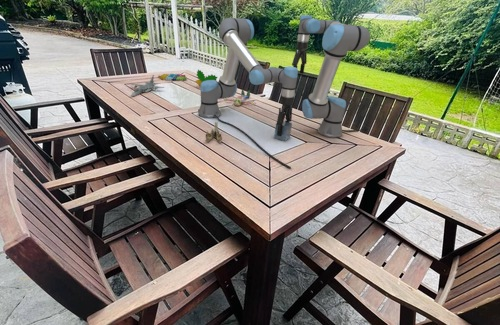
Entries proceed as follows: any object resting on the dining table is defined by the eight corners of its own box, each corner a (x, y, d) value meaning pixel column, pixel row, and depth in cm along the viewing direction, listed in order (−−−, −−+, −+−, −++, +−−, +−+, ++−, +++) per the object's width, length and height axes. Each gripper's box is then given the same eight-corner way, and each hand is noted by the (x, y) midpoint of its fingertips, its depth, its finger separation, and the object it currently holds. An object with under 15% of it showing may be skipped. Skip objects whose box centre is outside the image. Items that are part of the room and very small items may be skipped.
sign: (185, 79, 272) (155, 78, 269) (185, 81, 272) (155, 79, 270) (188, 74, 294) (161, 73, 291) (188, 76, 294) (161, 74, 292)
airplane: (124, 86, 238) (122, 75, 233) (160, 84, 251) (158, 74, 246) (129, 99, 209) (126, 86, 204) (168, 96, 223) (167, 84, 217)
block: (279, 134, 163) (281, 120, 159) (289, 137, 160) (292, 123, 155) (274, 138, 158) (275, 123, 153) (285, 141, 155) (287, 126, 150)
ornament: (212, 91, 261) (216, 76, 260) (214, 91, 254) (218, 75, 252) (192, 84, 253) (195, 69, 251) (193, 84, 245) (197, 68, 244)
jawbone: (224, 125, 157) (223, 115, 148) (222, 147, 150) (221, 138, 141) (208, 125, 157) (206, 115, 148) (206, 147, 150) (204, 138, 141)
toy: (261, 91, 228) (254, 99, 202) (261, 99, 231) (253, 108, 205) (231, 87, 233) (220, 95, 207) (230, 95, 236) (219, 104, 210)
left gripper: (289, 91, 156) (284, 126, 167) (272, 98, 140) (268, 137, 151) (301, 93, 153) (295, 129, 164) (285, 101, 137) (280, 140, 148)
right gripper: (304, 40, 185) (299, 71, 195) (289, 41, 166) (285, 76, 176) (314, 41, 182) (309, 73, 192) (300, 42, 163) (295, 77, 173)
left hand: (282, 133), depth 157 cm, fingers open, 9 cm apart
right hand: (297, 74), depth 184 cm, fingers open, 13 cm apart
